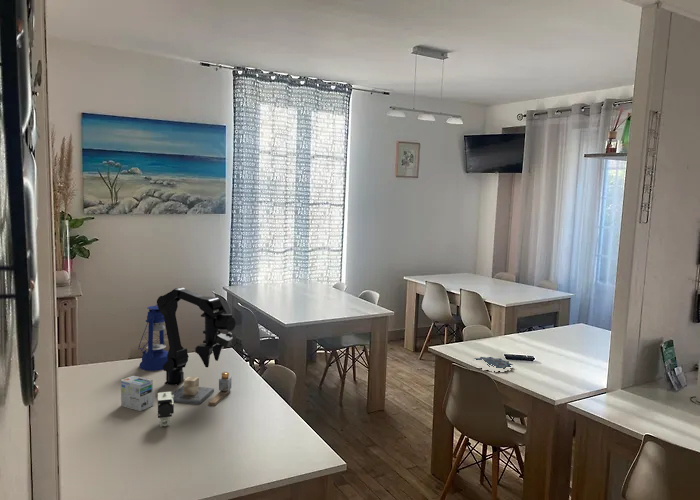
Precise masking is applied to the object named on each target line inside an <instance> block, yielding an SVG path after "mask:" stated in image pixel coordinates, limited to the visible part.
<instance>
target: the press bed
mask: <svg viewBox="0 0 700 500" xmlns="http://www.w3.org/2000/svg"><path fill="white" fill-rule="evenodd" d="M214 392H215V388H213V387H205V386H199V391H198V392H197V393H196V394H195V395H186V394H184V384H183V385H181V387H179V388H178V389H177V390H175V391H174V392H173V393H171V395H174V398H173V403H184V404H192V405H194V404H195V405H201V404H202V403H203V402H204V401H206V400H207V399H208V397H209V398H210V396H211V395H212V394H213V393H214ZM230 392H231V389H230V390H229V391H219V392H217V394H215V395H214V396H213V397H212V398H211V399H210V400H209V401H208V402H207V406H217V405H218V404H219V403H220V402H221V401H222V400H223V399H224V398H225V397H226V396H227V395H228V394H229V393H230Z"/></svg>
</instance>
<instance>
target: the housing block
mask: <svg viewBox="0 0 700 500" xmlns="http://www.w3.org/2000/svg"><path fill="white" fill-rule="evenodd" d="M199 381H200V376H199V377H196V376H187V377H185V379H184V381H183V385H184V394H186V395H195V394H196V393H197V392H198V391H199V387H200V382H199Z"/></svg>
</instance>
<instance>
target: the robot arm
mask: <svg viewBox="0 0 700 500" xmlns="http://www.w3.org/2000/svg"><path fill="white" fill-rule="evenodd" d="M181 300H183V301H185V302H188V303H190V304H193V305H195V306H198V308H199V309H200V310H201V312H203V313H202V314H200V317H201V318H204V330H203V331H202V334H204V339H203V340H202V343H200V344H198V345H196V346H195V348H194V349H195V350H194V352H195V353H196V354H197V355H198V356H199V357H200V359H201V361H202V363H203V366H204V367H205V368H209V366H210V358H211V355H212V354H213V356H214V360H215V362H219V359H220V355H221V352H222V349H223V348H228V347H229V346H231V344H232V342H233V340H234V337H233V333H232V332H233V330H234V329H235V327H236V324H237V323H236V320H235V318H234V317H233V314H231V313H230V314H229V313H227V311H226V308H225V307H224V305H223V304H222V302H221V299H220V298H219V297H215V296H205V295H202V294H199V293H197V292H195V291H191V290H188V289H186V288H185V287H183V286H182V287H176V288H173V289H172V290H171V291H169V292H167V293H165V294H162V295H160V296H158V297H157V299H156V305H157V306H158V309H159V311H160V312H161V313H162V315H163V316H164V320H165V322H164V324H165V325H164V326H165V330H166V334H167V335H166V336H167V342H168V345H169V347H168V348H169V349H168V350H167V351H168V354H167V360H168V361H167V362H166V363H165V364H164V365H163V370H162V371H164V372H165V373H166V374H165V382H164V385H171V386H179V385H180V384H182V383H184V380H185V379H184V377H185V376H184V375H185V374H184V370H183V368H186V366H187V363H188V362H189V353H188V349H187V348H184V347H183V345H182V342H181V338H180V336H181V335H180V331H179V326H178V321H177V316H176V312H177V310H178V307H179V306H178V303H179V301H181ZM222 331H227V332H228V333H222Z"/></svg>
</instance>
